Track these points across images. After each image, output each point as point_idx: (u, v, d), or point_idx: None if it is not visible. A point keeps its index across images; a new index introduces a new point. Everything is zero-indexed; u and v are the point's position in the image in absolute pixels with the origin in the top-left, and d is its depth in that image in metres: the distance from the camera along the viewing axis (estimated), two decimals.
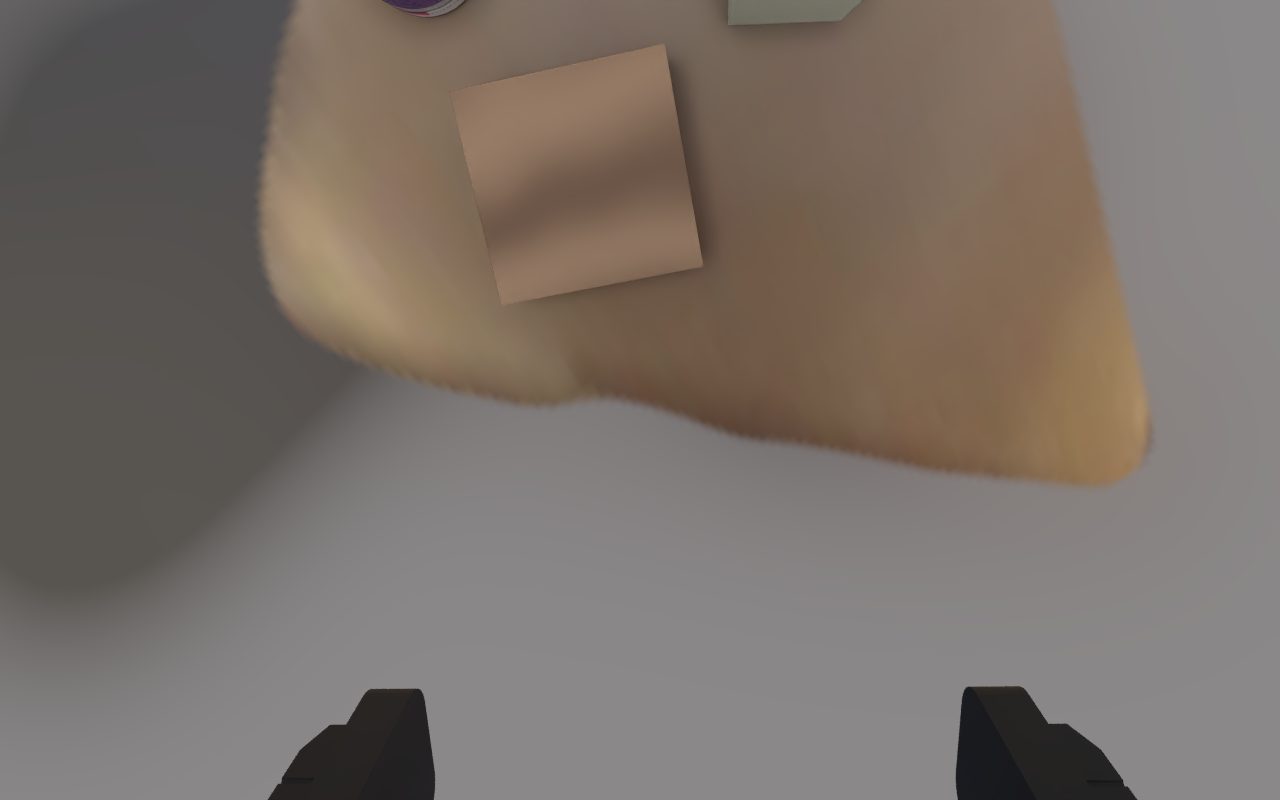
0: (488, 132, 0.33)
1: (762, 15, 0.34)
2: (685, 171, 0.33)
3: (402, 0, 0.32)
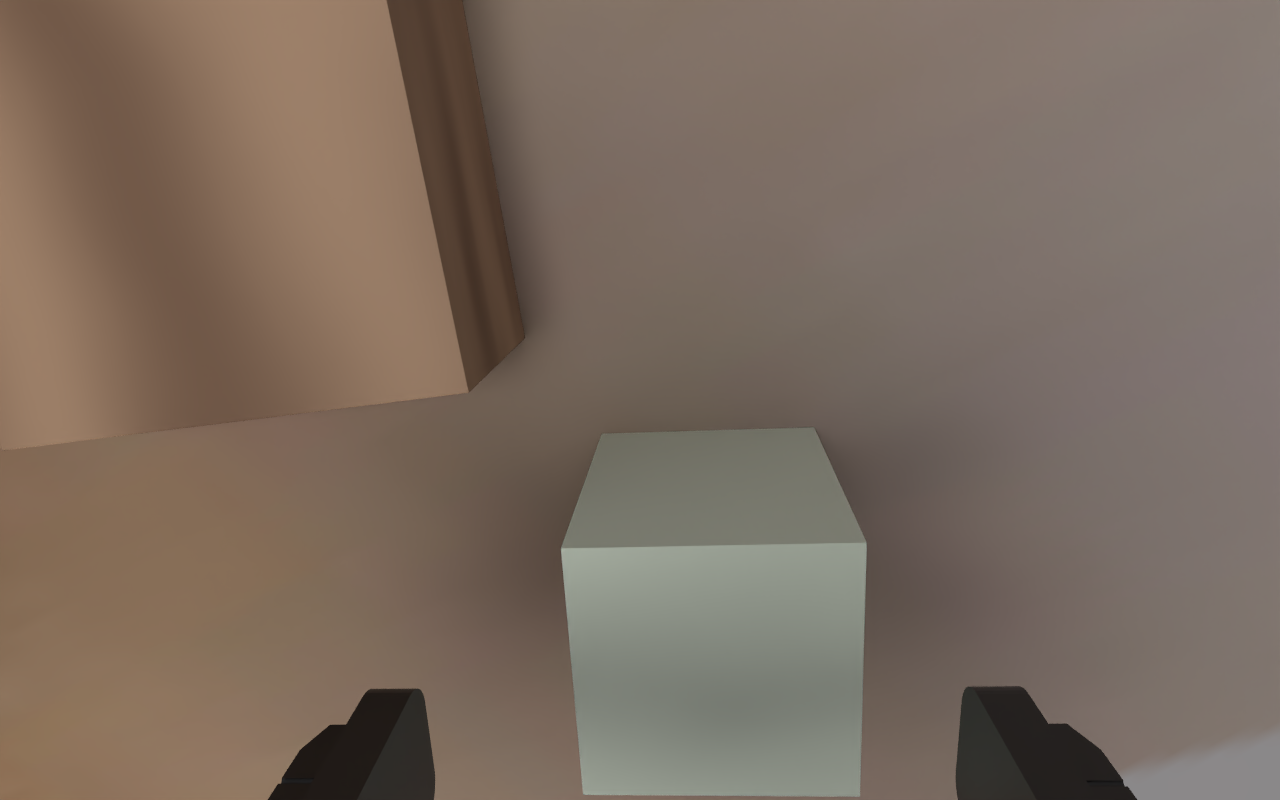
0: None
1: None
2: (202, 422, 0.14)
3: None
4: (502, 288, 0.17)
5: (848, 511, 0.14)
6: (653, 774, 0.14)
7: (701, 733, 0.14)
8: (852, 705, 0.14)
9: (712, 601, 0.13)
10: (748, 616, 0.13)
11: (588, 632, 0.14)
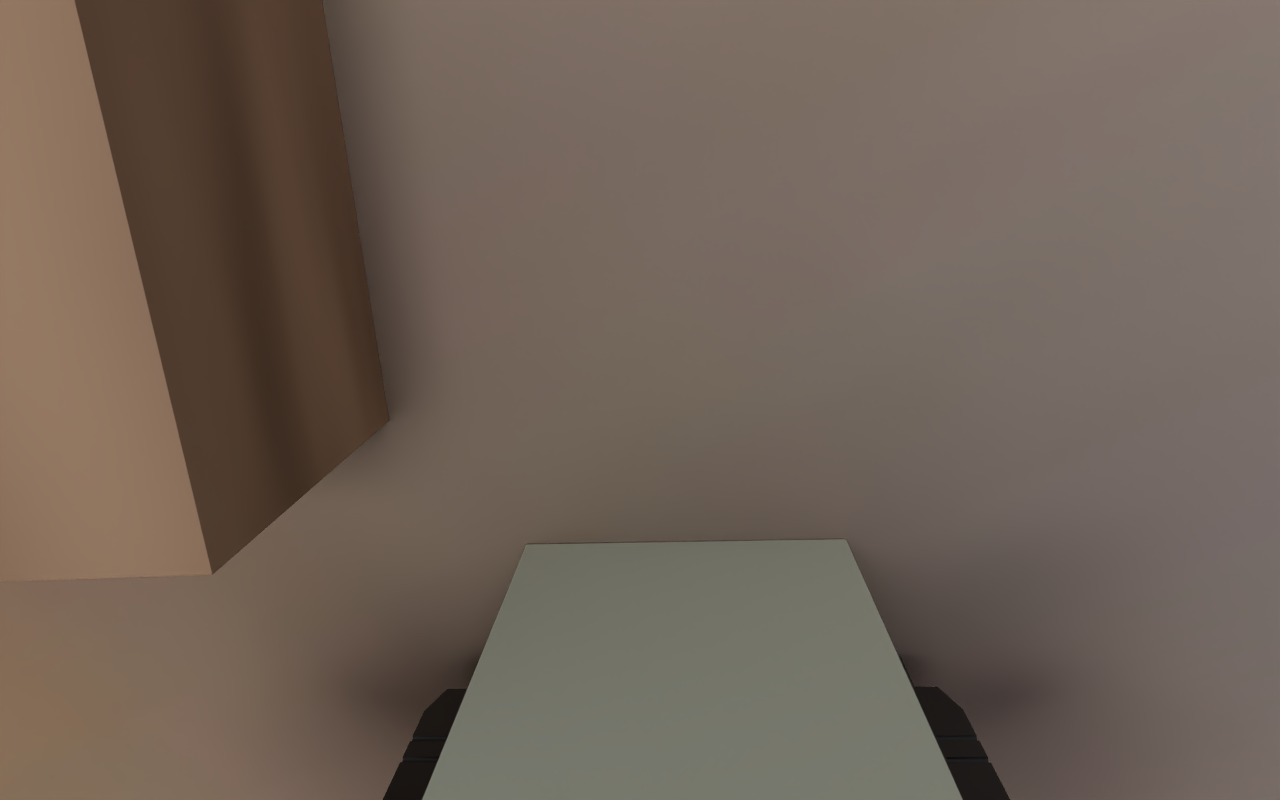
0: None
1: None
2: None
3: None
4: (343, 353, 0.11)
5: (936, 760, 0.08)
6: None
7: None
8: None
9: None
10: None
11: None
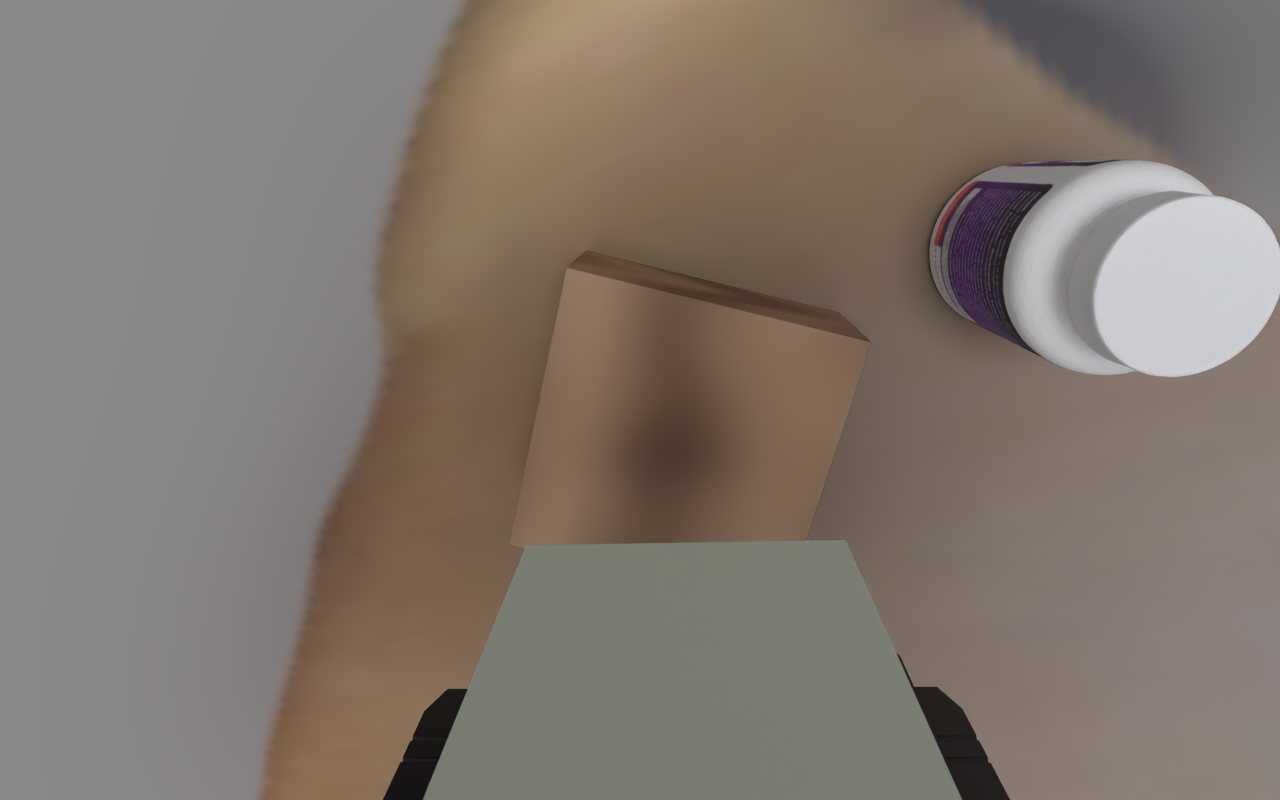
0: (795, 366, 0.23)
1: None
2: None
3: (970, 247, 0.23)
4: None
5: (937, 762, 0.08)
6: None
7: None
8: None
9: None
10: None
11: None
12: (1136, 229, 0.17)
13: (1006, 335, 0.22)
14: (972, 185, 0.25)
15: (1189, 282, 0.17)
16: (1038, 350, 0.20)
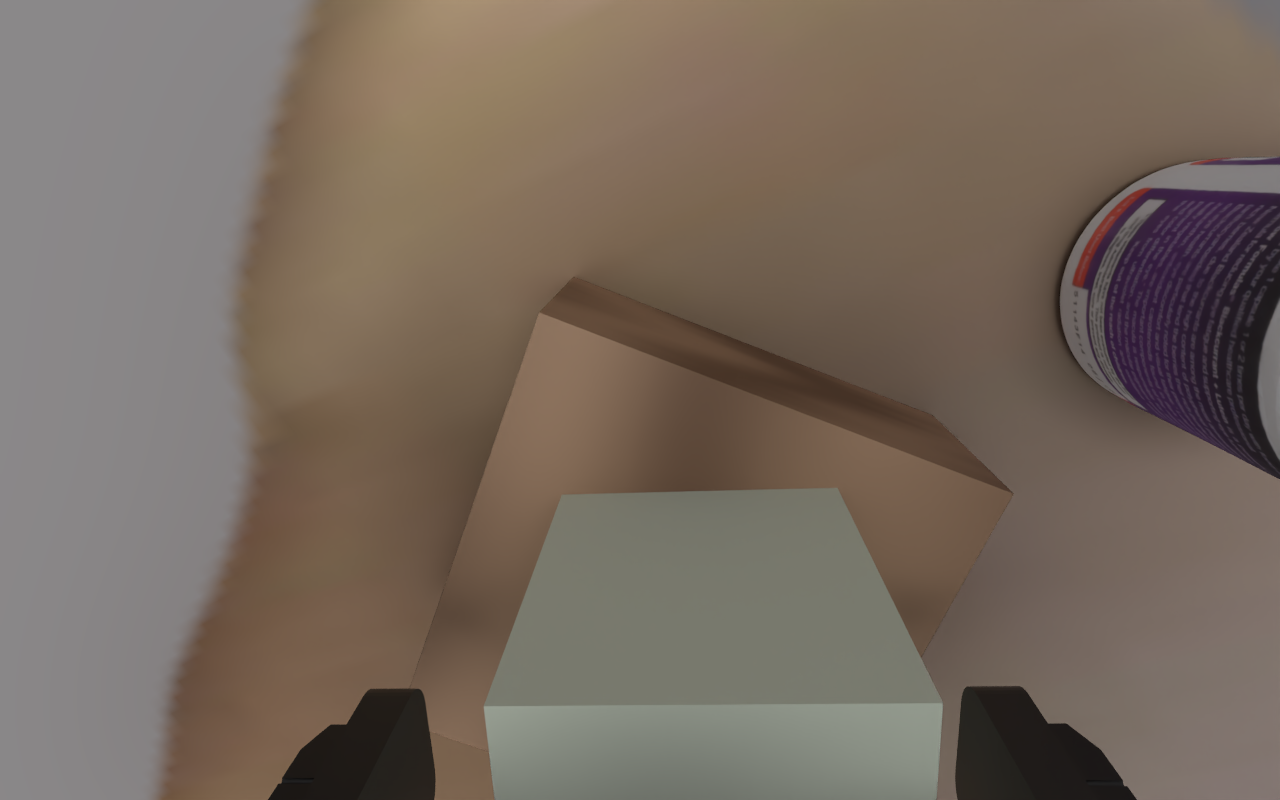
0: (886, 515, 0.14)
1: None
2: None
3: (1162, 298, 0.14)
4: None
5: (905, 638, 0.10)
6: None
7: None
8: None
9: (710, 783, 0.09)
10: None
11: None
12: None
13: (1227, 446, 0.13)
14: (1140, 194, 0.16)
15: None
16: None
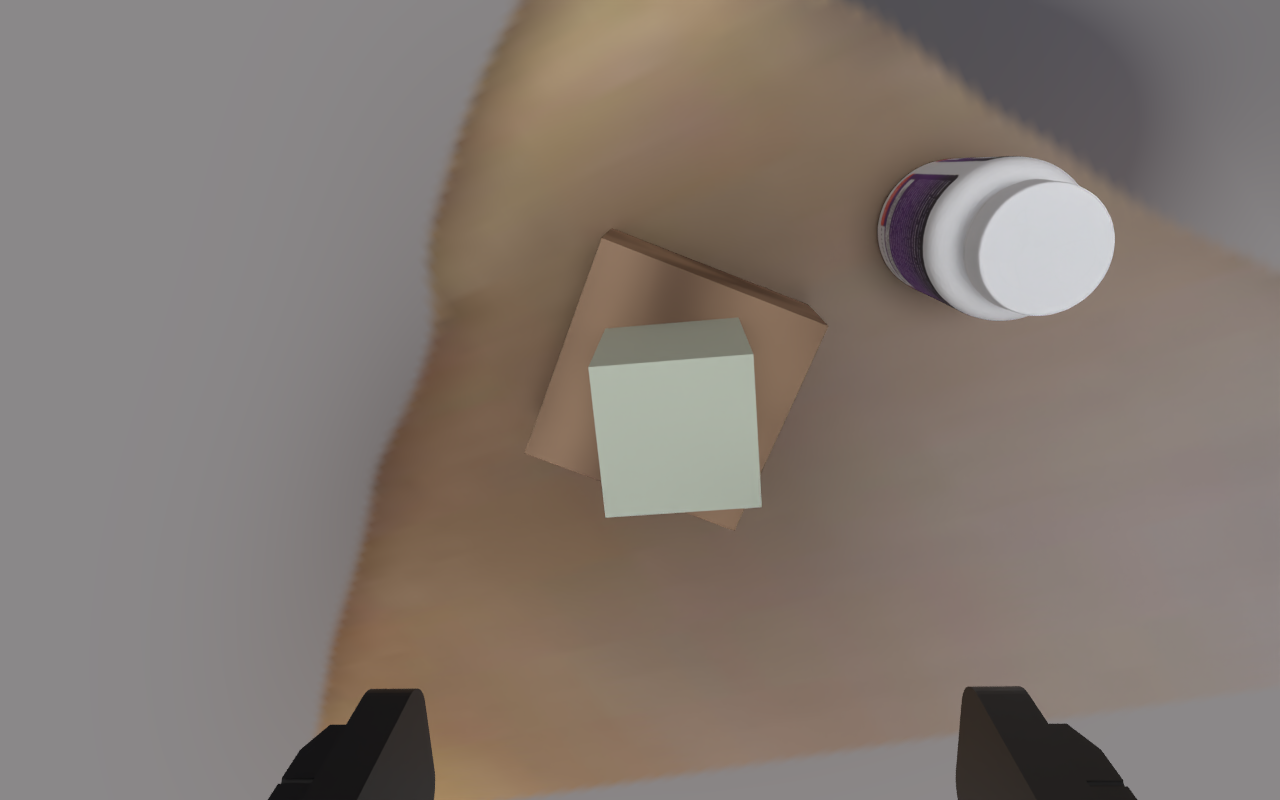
0: (768, 337, 0.30)
1: None
2: None
3: (903, 225, 0.29)
4: None
5: (747, 345, 0.25)
6: (644, 501, 0.25)
7: (670, 473, 0.25)
8: (753, 451, 0.25)
9: (672, 393, 0.24)
10: (693, 401, 0.24)
11: (605, 416, 0.24)
12: (1006, 207, 0.23)
13: (930, 293, 0.29)
14: (909, 177, 0.31)
15: (1047, 245, 0.23)
16: (950, 301, 0.27)
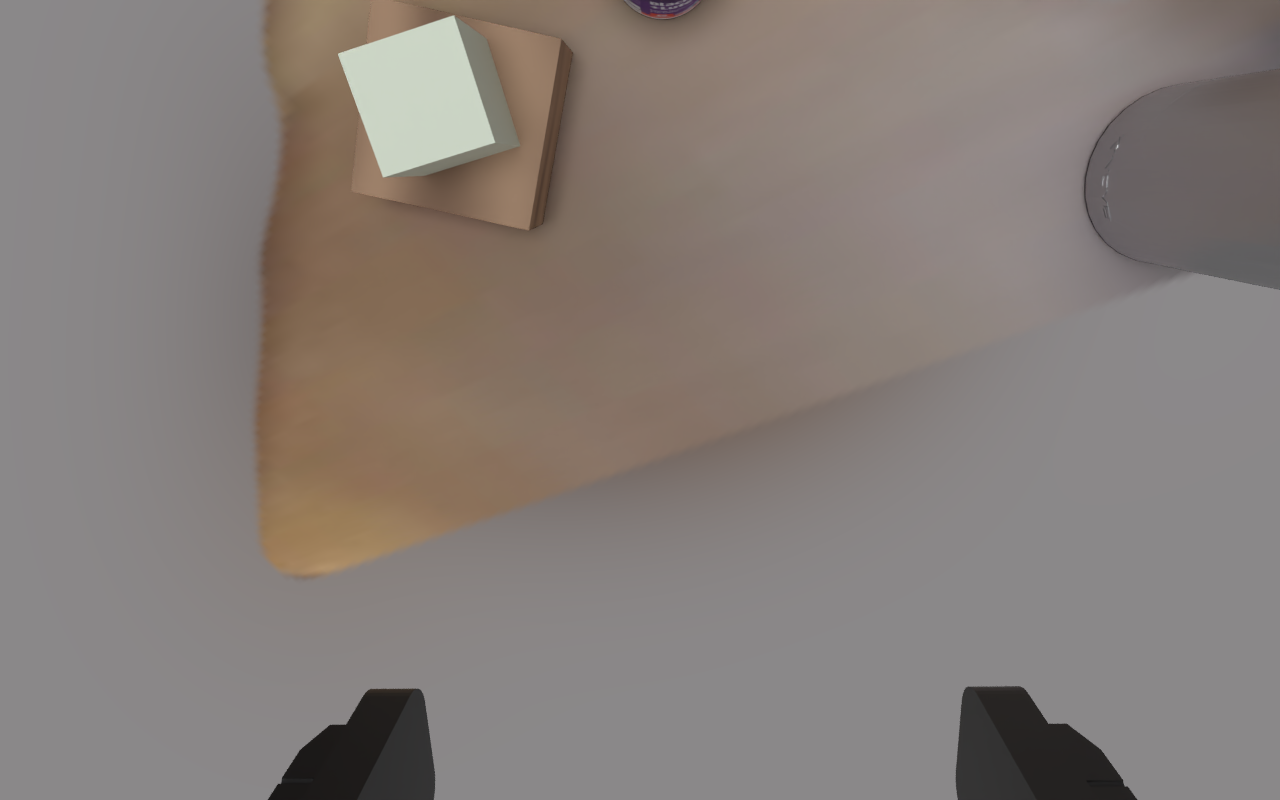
0: (517, 57, 0.37)
1: None
2: (430, 207, 0.39)
3: None
4: (543, 200, 0.43)
5: (459, 21, 0.33)
6: (408, 157, 0.33)
7: (421, 129, 0.33)
8: (475, 96, 0.32)
9: (404, 61, 0.32)
10: (420, 64, 0.32)
11: (360, 91, 0.32)
12: None
13: None
14: None
15: None
16: None
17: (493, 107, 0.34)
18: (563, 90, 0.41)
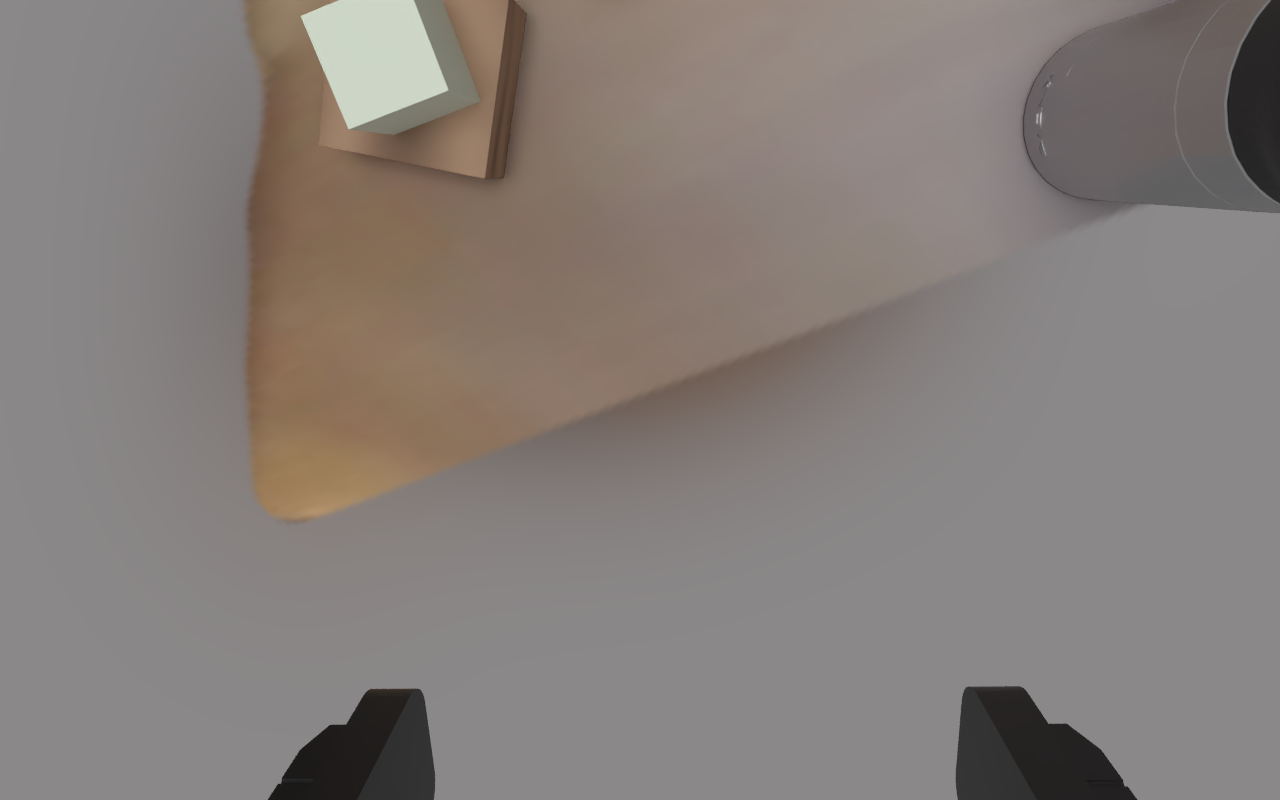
0: (469, 14, 0.40)
1: None
2: (393, 158, 0.42)
3: None
4: (502, 154, 0.45)
5: None
6: (370, 109, 0.36)
7: (380, 82, 0.35)
8: (428, 48, 0.35)
9: (361, 19, 0.35)
10: (376, 21, 0.35)
11: (323, 50, 0.35)
12: None
13: None
14: None
15: None
16: None
17: (448, 61, 0.37)
18: (517, 48, 0.44)
